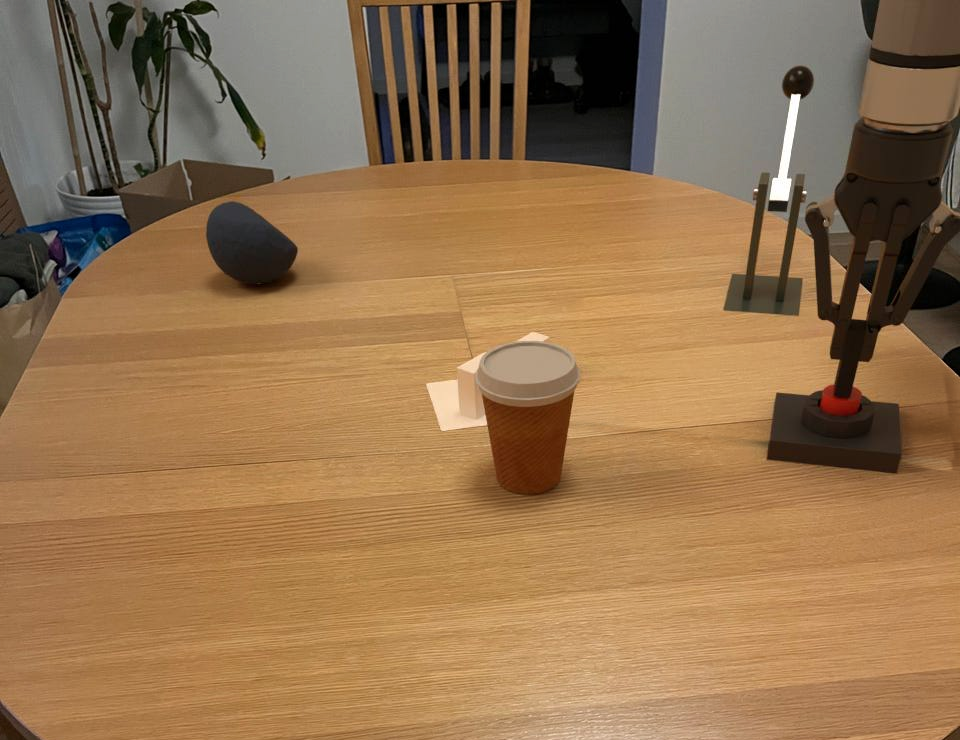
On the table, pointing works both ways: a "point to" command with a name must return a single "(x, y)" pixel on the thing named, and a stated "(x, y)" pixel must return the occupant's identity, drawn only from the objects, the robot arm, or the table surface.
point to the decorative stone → (248, 244)
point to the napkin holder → (464, 395)
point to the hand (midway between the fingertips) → (842, 390)
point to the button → (840, 402)
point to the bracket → (768, 290)
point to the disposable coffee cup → (528, 411)
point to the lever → (789, 133)
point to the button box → (835, 434)
